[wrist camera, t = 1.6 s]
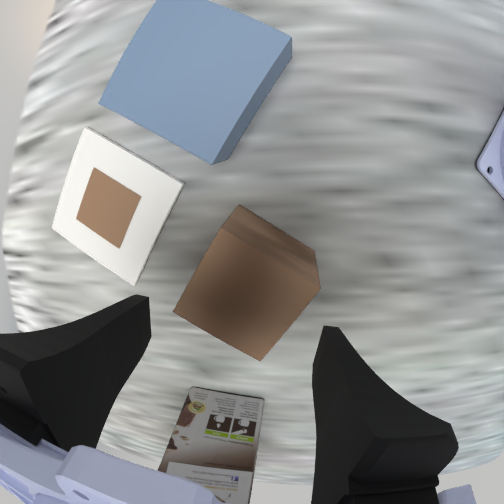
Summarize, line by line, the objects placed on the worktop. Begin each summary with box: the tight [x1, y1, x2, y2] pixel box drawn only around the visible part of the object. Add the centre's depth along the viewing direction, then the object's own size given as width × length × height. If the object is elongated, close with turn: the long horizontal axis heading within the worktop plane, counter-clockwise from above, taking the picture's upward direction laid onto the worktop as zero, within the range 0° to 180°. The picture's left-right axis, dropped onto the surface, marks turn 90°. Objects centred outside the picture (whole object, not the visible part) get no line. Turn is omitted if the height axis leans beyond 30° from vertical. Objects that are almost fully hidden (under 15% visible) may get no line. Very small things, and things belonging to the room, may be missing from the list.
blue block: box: [98, 0, 292, 165], centre depth 14 cm, size 7×7×4 cm
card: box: [52, 127, 185, 286], centre depth 19 cm, size 8×8×1 cm
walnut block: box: [173, 204, 321, 361], centre depth 17 cm, size 5×5×5 cm
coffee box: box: [158, 387, 264, 504], centre depth 18 cm, size 9×6×16 cm
